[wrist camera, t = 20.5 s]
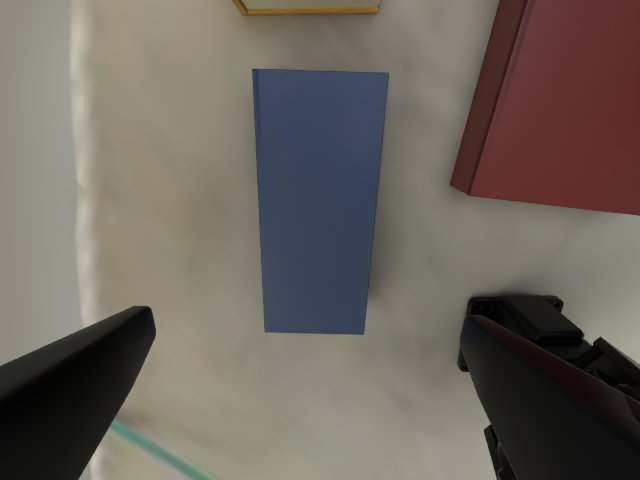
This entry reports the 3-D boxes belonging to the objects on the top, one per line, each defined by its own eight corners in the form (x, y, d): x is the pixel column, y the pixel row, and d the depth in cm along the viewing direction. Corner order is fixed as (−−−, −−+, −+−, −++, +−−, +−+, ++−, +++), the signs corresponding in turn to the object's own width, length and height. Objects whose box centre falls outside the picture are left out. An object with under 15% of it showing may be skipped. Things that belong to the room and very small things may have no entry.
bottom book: (617, 205, 20) (662, 218, 17) (449, 185, 19) (469, 195, 17) (799, -170, 14) (912, -238, 11) (556, -210, 13) (614, -291, 11)
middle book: (358, 308, 23) (363, 334, 20) (271, 306, 23) (264, 332, 20) (378, 79, 17) (389, 72, 15) (263, 76, 17) (252, 68, 14)
